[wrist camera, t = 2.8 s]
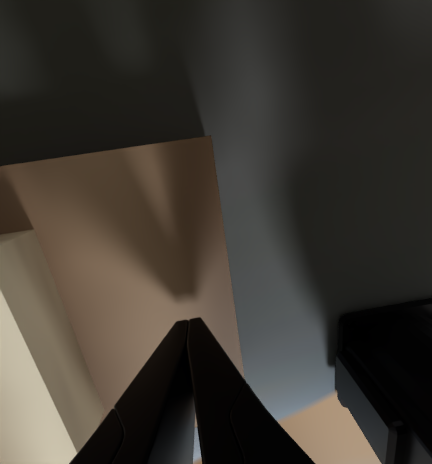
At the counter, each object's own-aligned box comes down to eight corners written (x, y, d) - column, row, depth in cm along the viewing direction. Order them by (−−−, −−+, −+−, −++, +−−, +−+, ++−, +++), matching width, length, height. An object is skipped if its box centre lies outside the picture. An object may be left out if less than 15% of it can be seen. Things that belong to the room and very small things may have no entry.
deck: (206, 140, 10) (211, 135, 8) (238, 363, 14) (249, 417, 11) (-118, 187, 10) (-244, 201, 7) (4, 406, 14) (-46, 474, 11)
